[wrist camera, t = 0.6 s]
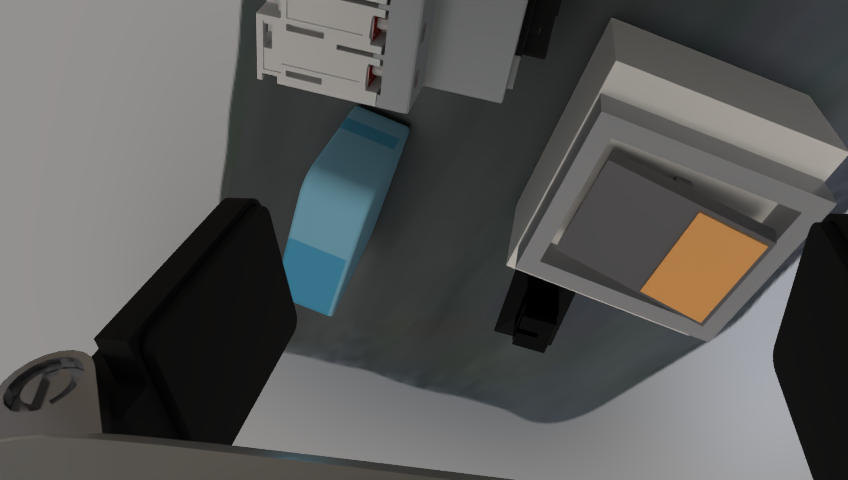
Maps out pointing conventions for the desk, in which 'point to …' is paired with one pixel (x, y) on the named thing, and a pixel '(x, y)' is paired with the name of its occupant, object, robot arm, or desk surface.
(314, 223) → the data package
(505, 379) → the desk surface
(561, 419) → the desk surface
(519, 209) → the switch panel
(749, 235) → the rocker
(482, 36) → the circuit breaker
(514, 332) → the black slotted block
